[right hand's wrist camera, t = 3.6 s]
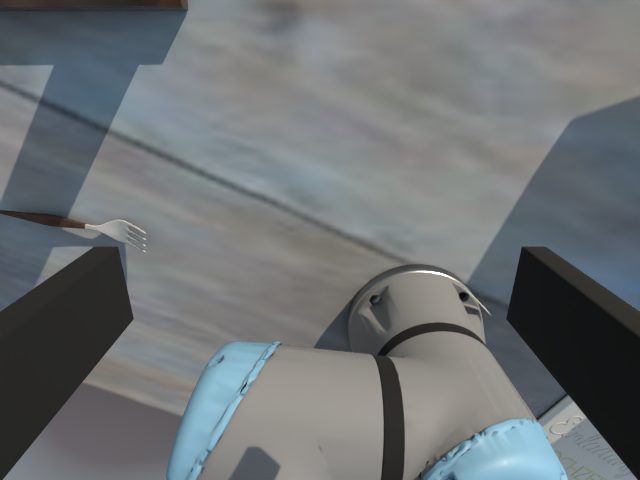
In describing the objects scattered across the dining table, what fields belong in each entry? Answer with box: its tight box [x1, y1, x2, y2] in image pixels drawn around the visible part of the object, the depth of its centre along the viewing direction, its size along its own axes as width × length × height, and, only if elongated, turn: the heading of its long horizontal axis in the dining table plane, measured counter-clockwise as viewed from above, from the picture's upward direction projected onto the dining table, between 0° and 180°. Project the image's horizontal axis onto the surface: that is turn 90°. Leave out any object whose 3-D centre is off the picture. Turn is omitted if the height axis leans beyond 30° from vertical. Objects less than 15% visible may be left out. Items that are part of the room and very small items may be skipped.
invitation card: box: [537, 395, 637, 480], centre depth 53 cm, size 21×1×15 cm
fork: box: [0, 210, 146, 253], centre depth 39 cm, size 3×16×2 cm, turn 79°
